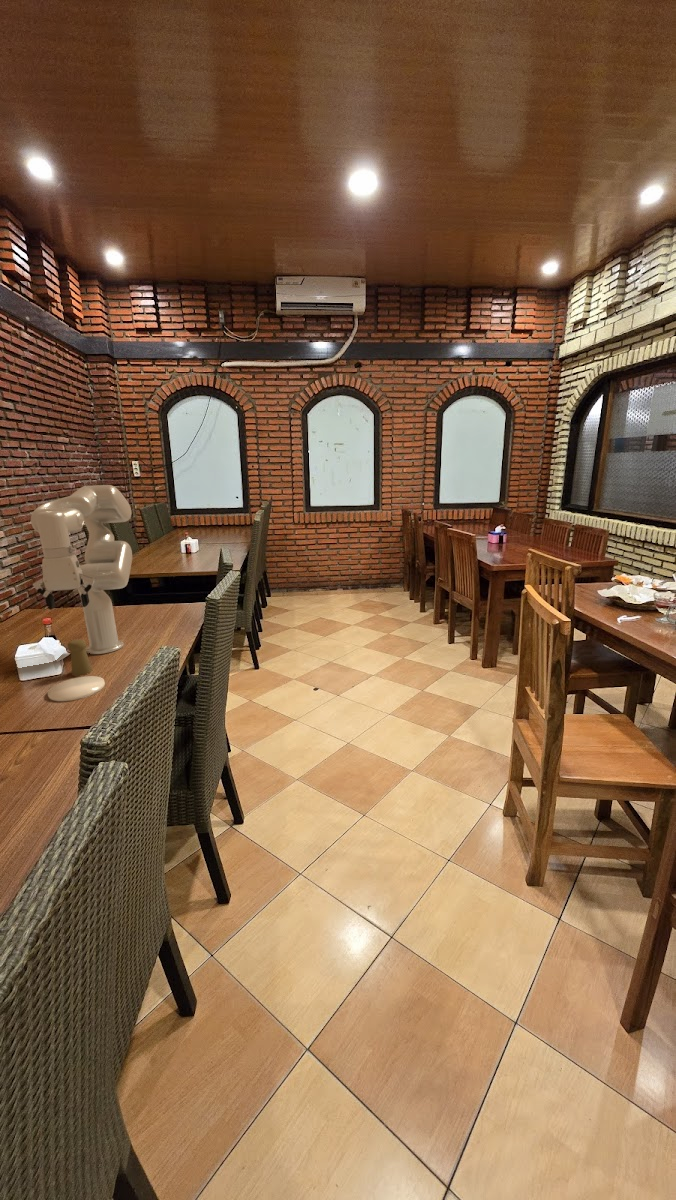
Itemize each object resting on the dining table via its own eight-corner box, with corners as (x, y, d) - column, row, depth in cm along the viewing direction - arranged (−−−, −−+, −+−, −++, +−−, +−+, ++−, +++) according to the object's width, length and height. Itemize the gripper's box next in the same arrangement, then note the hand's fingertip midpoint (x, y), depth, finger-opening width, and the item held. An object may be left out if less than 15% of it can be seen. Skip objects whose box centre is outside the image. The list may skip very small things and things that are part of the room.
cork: (83, 676, 152) (77, 644, 149) (67, 675, 153) (60, 643, 150) (96, 669, 158) (90, 637, 155) (80, 668, 159) (74, 636, 156)
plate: (59, 682, 149) (59, 679, 148) (110, 676, 151) (110, 673, 151) (39, 704, 134) (38, 700, 134) (96, 697, 137) (95, 694, 136)
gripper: (92, 548, 149) (102, 601, 154) (32, 552, 147) (44, 606, 151) (84, 553, 142) (95, 608, 147) (21, 557, 140) (34, 613, 144)
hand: (69, 607), depth 149 cm, fingers open, 9 cm apart
